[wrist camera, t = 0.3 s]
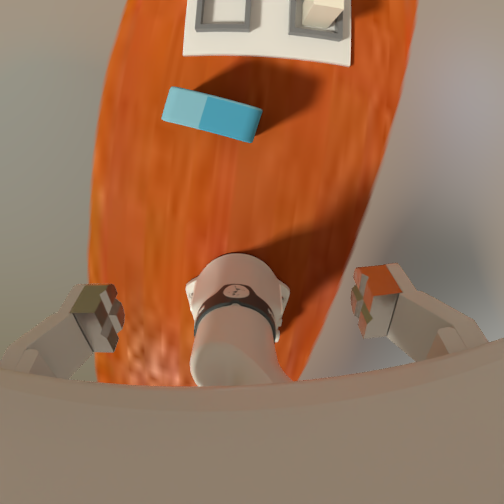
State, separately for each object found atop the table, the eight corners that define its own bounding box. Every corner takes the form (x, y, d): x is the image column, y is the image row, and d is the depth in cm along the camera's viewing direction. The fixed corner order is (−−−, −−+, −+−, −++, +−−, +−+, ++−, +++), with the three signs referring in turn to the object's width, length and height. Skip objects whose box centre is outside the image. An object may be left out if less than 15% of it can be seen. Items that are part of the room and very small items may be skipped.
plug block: (326, 28, 39) (344, 9, 30) (301, 25, 39) (313, 4, 30) (327, 8, 38) (343, -15, 29) (302, 4, 38) (313, -20, 29)
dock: (348, 66, 43) (354, 63, 40) (184, 56, 42) (180, 52, 39) (348, -14, 37) (354, -21, 34) (191, -25, 36) (188, -32, 33)
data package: (178, 120, 46) (157, 119, 35) (186, 93, 45) (167, 84, 34) (251, 139, 48) (252, 144, 37) (260, 112, 46) (263, 109, 35)
